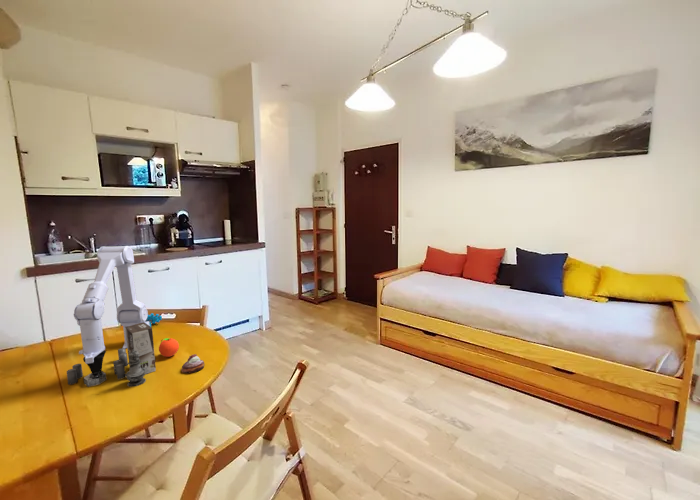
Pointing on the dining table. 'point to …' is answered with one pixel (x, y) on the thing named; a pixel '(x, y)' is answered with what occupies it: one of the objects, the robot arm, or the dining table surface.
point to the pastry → (193, 364)
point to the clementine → (168, 347)
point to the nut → (95, 378)
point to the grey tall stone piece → (135, 370)
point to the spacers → (118, 368)
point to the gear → (153, 318)
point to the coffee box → (142, 344)
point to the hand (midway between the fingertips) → (97, 373)
